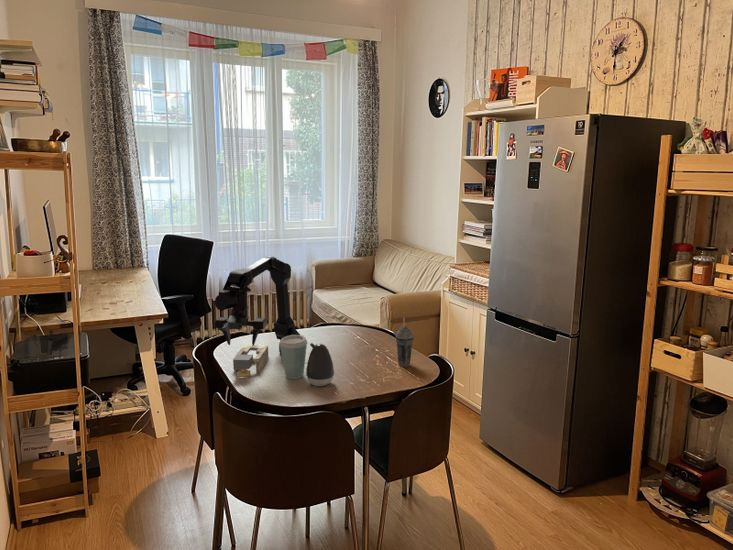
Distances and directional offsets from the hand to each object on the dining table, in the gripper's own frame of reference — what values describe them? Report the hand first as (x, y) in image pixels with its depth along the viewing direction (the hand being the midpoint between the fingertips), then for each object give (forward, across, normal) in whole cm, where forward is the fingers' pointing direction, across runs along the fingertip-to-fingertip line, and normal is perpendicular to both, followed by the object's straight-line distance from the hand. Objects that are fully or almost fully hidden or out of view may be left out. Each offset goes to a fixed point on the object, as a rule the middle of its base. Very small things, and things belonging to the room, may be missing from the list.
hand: (241, 345), depth 217 cm
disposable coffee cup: (+12, +20, +1) cm, 23 cm away
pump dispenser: (+12, +31, -5) cm, 33 cm away
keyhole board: (+12, 0, +12) cm, 17 cm away
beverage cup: (+12, +61, +18) cm, 65 cm away
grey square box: (+12, +1, 0) cm, 12 cm away
